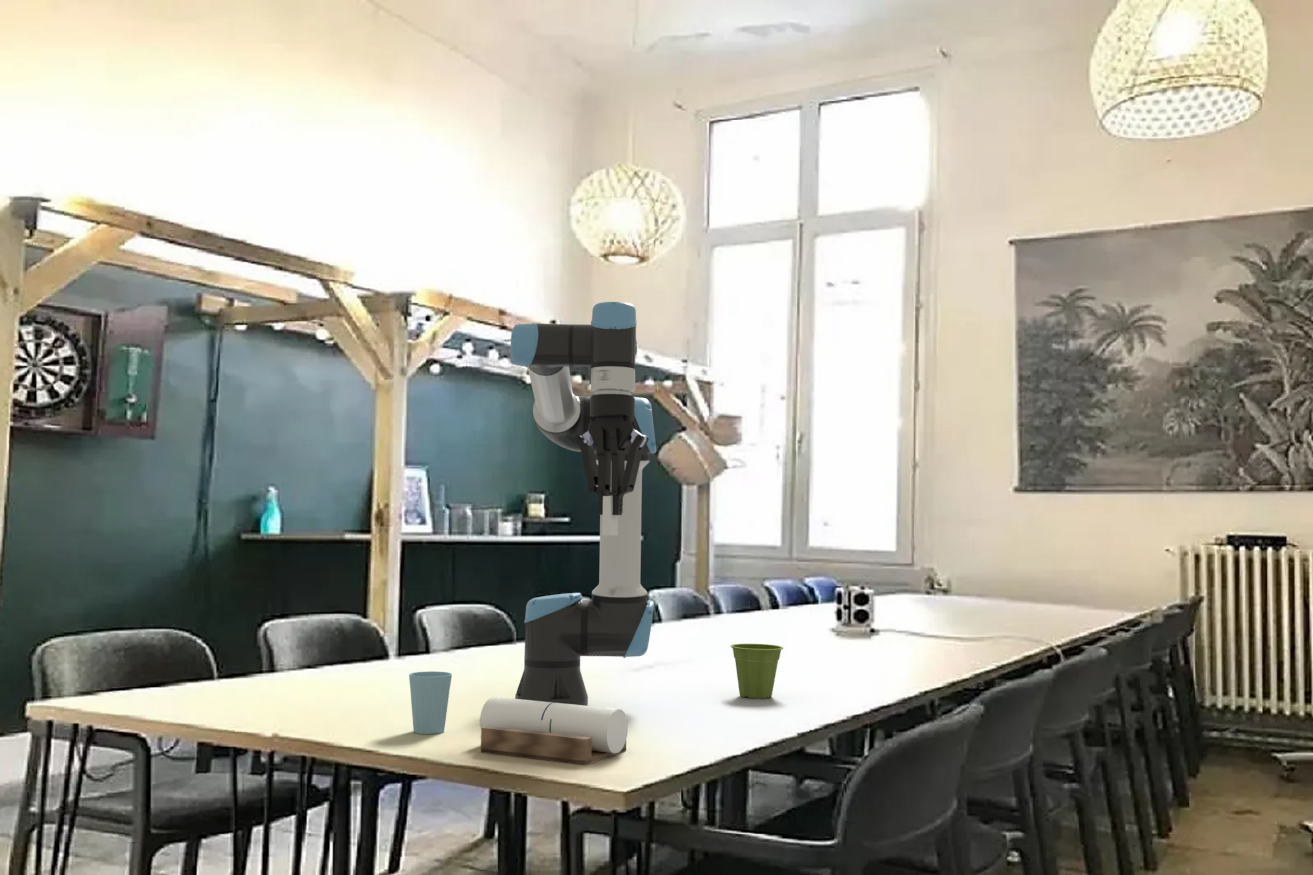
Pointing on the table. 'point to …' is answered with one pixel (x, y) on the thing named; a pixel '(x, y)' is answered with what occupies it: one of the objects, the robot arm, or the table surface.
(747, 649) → the plant pot
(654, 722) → the table surface
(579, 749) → the walnut U-channel
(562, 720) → the cylindrical container
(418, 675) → the cup
